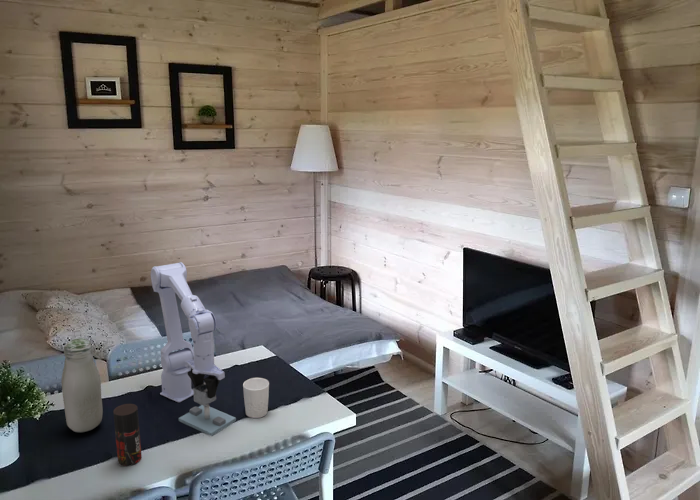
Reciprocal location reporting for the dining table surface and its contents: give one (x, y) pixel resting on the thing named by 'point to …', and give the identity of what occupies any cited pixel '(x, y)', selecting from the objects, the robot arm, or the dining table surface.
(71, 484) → the dining table surface
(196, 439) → the dining table surface
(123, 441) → the deodorant
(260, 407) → the white cup
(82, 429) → the glass bottle
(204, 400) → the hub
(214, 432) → the shaft base
